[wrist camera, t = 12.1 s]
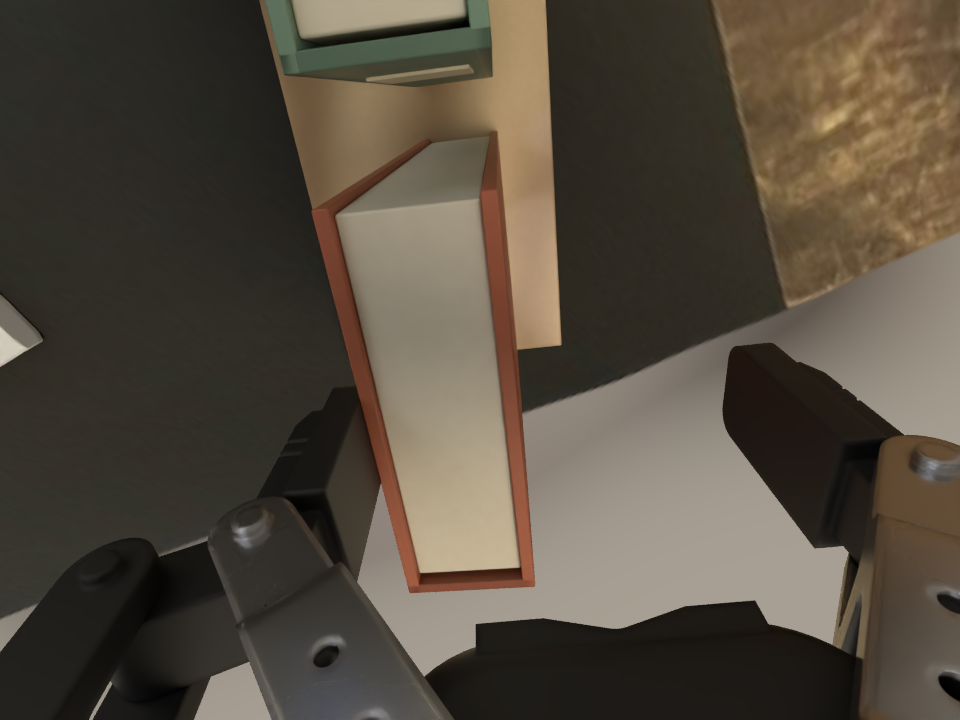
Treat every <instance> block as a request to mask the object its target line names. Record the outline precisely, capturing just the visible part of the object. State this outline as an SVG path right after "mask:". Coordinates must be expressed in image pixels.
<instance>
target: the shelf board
mask: <svg viewBox="0 0 960 720" xmlns="http://www.w3.org/2000/svg"><path fill="white" fill-rule="evenodd" d="M259 2H260V6H261V10H262V14H263V18H264V22H265V25H266V29H267V33H268V37H269V41H270V45H271V49H272V53H273V57H274V61H275V64H276V68H277V72H278V76H279V80H280V84H281V88H282V92H283V96H284V100H285V104H286V107H287V111H288V115H289V119H290V123H291V127H292V131H293V135H294V139H295V143H296V147H297V150H298V154H299V158H300V162H301V166H302V170H303V174H304V178H305V182H306V186H307V189H308V193H309V197H310V201H311V205H312V209H315V208H316V207H318V206H320V205H321V204H323V203H324V202H326V201H328V200H329V199H331V198H332V197H334V196H335V195H337V194H339V193H340V192H342V191H343V190H345V189H347V188H348V187H350V186H351V185H353V184H355V183H356V182H358V181H359V180H361V179H362V178H364V177H366V176H367V175H369V174H370V173H372V172H374V171H375V170H377V169H378V168H380V167H382V166H383V165H385V164H386V163H388V162H390V161H391V160H393V159H394V158H396V157H397V156H399V155H401V154H402V153H404V152H405V151H407V150H409V149H410V148H412V147H413V146H415V145H417V144H418V143H420V142H421V141H423V140H426V139H430V142H431V143H437V142H445V141H453V140H461V139H469V138H478V137H486V136H490V134H491V132H492V131H498V140H499V151H500V162H501V173H502V184H503V196H504V207H505V218H506V229H507V240H508V251H509V262H510V274H511V285H512V296H513V307H514V318H515V329H516V341H517V350H520V349H529V348H539V347H548V346H558V345H561V323H560V302H559V280H558V258H557V237H556V215H555V193H554V171H553V150H552V128H551V106H550V85H549V63H548V41H547V19H546V0H488V4H489V15H490V27H491V38H492V63H493V77H491V78H483V79H475V80H468V81H460V82H452V83H445V84H437V85H429V86H422V87H408V86H397V85H386V84H375V83H363V82H352V81H341V80H330V79H319V78H308V77H296V76H286V75H284V74H283V71H282V67H281V63H280V59H279V55H278V51H277V47H276V43H275V39H274V35H273V31H272V27H271V23H270V19H269V15H268V11H267V7H266V3H265V0H259Z"/></svg>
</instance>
